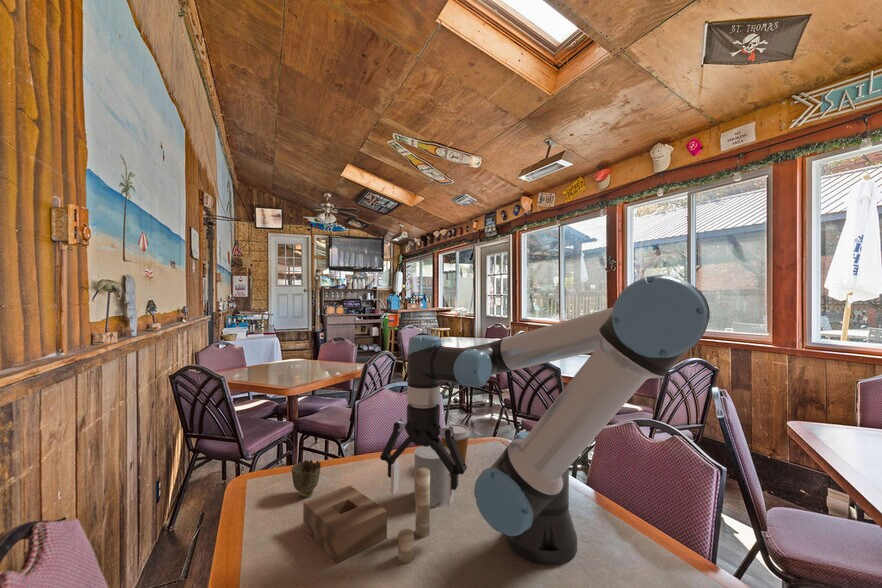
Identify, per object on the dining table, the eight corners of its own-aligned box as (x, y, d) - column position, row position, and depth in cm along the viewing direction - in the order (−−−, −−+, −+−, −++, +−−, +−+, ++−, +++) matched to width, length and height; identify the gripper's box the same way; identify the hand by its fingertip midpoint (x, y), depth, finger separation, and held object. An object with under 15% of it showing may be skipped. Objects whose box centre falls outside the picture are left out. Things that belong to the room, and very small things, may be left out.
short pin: (416, 558, 78) (417, 533, 78) (404, 565, 76) (404, 540, 76) (407, 550, 81) (407, 527, 81) (394, 557, 78) (395, 533, 79)
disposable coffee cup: (474, 464, 123) (475, 427, 123) (460, 476, 115) (460, 436, 115) (449, 458, 128) (449, 421, 128) (433, 468, 120) (434, 430, 120)
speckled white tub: (446, 509, 97) (446, 460, 97) (409, 504, 99) (410, 456, 99) (452, 490, 106) (452, 446, 106) (419, 487, 108) (419, 443, 108)
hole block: (386, 538, 85) (387, 510, 85) (337, 563, 77) (338, 533, 77) (349, 509, 96) (349, 485, 96) (303, 528, 88) (303, 502, 88)
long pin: (432, 533, 87) (433, 471, 87) (421, 539, 85) (422, 475, 85) (423, 527, 89) (423, 466, 89) (412, 532, 87) (413, 470, 87)
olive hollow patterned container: (284, 499, 101) (285, 468, 101) (303, 486, 108) (303, 457, 108) (308, 504, 98) (308, 473, 98) (326, 491, 105) (326, 461, 105)
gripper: (480, 405, 87) (479, 499, 87) (382, 394, 95) (380, 479, 95) (472, 414, 80) (470, 517, 79) (366, 401, 88) (365, 494, 88)
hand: (421, 497), depth 87 cm, fingers open, 13 cm apart
